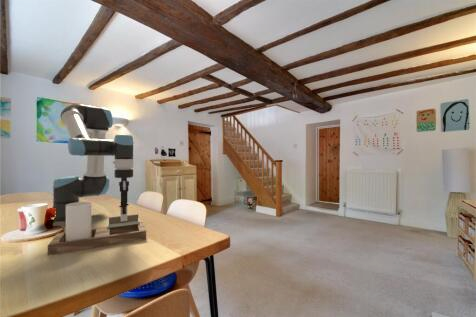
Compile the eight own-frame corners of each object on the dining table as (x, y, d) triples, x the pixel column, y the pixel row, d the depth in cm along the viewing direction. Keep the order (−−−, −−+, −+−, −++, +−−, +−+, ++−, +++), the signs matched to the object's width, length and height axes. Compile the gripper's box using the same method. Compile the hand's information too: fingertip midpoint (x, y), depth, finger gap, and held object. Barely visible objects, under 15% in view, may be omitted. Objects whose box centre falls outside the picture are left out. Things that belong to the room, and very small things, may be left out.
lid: (108, 220, 106) (108, 212, 106) (137, 216, 112) (137, 209, 112) (107, 227, 95) (107, 219, 95) (139, 223, 101) (139, 215, 101)
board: (64, 232, 100) (64, 224, 100) (140, 222, 115) (140, 215, 115) (47, 255, 76) (47, 245, 76) (146, 239, 92) (146, 230, 92)
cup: (96, 240, 90) (96, 202, 90) (79, 248, 82) (79, 206, 82) (77, 239, 91) (77, 201, 91) (59, 247, 83) (59, 205, 83)
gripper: (114, 168, 103) (114, 218, 103) (114, 169, 91) (114, 225, 91) (132, 167, 106) (132, 216, 106) (134, 169, 95) (134, 223, 95)
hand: (123, 220), depth 99 cm, fingers closed
